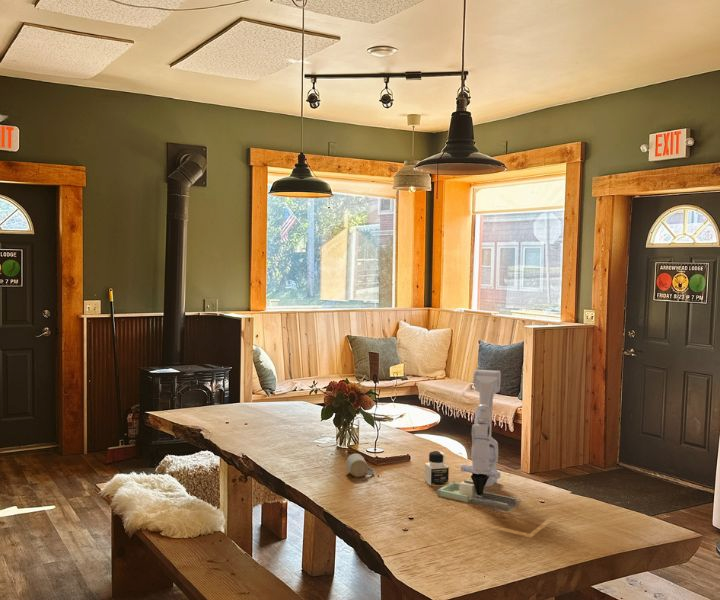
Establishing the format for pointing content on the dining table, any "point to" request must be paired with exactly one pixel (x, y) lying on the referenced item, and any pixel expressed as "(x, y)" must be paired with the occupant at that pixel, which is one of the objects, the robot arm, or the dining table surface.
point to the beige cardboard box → (467, 489)
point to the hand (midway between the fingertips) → (479, 494)
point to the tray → (452, 492)
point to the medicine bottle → (436, 469)
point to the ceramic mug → (358, 466)
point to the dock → (495, 501)
